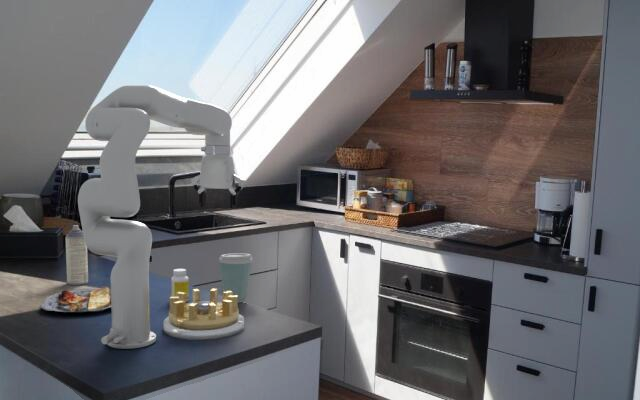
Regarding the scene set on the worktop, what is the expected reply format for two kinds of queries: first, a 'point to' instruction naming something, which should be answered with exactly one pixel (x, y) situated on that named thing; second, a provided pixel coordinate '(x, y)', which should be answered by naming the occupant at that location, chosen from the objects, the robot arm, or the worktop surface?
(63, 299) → the food plate
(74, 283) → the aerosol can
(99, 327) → the worktop surface
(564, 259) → the worktop surface
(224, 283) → the disposable coffee cup
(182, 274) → the supplement bottle
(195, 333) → the light grey round disc
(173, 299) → the bladed impeller wheel
